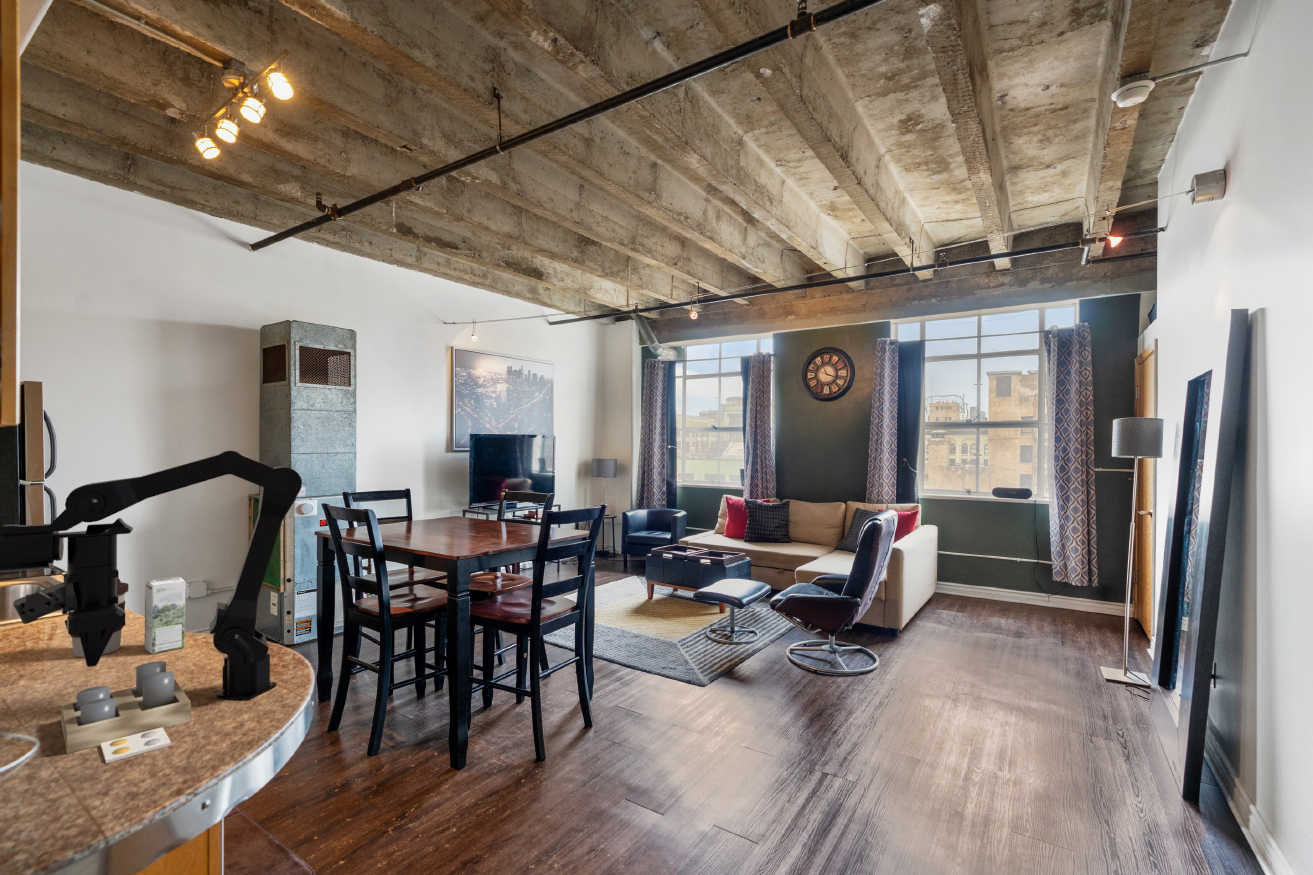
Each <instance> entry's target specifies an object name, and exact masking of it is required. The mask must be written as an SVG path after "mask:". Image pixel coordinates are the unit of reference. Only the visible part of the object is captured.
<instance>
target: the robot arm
mask: <svg viewBox="0 0 1313 875" xmlns="http://www.w3.org/2000/svg"><path fill="white" fill-rule="evenodd" d="M227 475H232V476H234V477H237V478H239V479H242V480H244V481H247V482H249V483H252V484H254V485H257V486H259V487H260V491H259V499H258V500H259V501H258V515H257V517H256V521H255V524H254V527H253V531H252V533H251V536H250V538H249V543H248V546H247V549H246V552H245V555H244V558H243V561H242V564H241V567H240V570H239V573H238V577H237V580H236V583H235V586H234V589H233V591H232V593H231V595H230V597H229V599H228V600H227V602H226V603H224V602H220V601H218V602H216V610H215V615H214V617H213V619H212V620H211V621H210V623H209V634H210V635H212V642H213V646H214V648H215V649H216V650H217V651H218V652H220V653H221V654H224V655H227V656H225V657H224V658H223V665H222V691H220V692H218V693H216V694H215V698H221V699H235V700H250V699H253V698H254V697H257V696H259V695H261V694H263V693H265V692H267V691H268V690H271V689H272V688H275V687H276V686H277V685H278V683H277V682H276V681H271V653H270V652H269V649H270V647H269V644H268V641H267V637H266V636H265V634H264V633H262V632H261V631H259V630H258V629H256V625H257V624H256V623H257V614H258V611H257V610H258V599H259V596H260V592H261V589H262V586H263V583H264V579H265V577H266V573H267V570H268V567H269V565H270V561H271V559H272V558H271V557H272V555H273V552H274V548H275V545H276V542H277V539H278V535H279V533H280V530H281V526H282V523H283V520H284V519H285V518H286V516H287V514H288V513H289V511H290V509H291V508H292V506H293V505H294V503H295V500H296V499H297V498H298V495H299V493H300V492H301V490H302V486H303V480H302V477H301V475H300V474H299V472H298V471H296V470H295V469H293V468H290V467H287V466H282V465H281V466H279V465H278V466H273V467H272V466H269V465H267V464H264V463H261V462H259V461H257V460H254V459H252V458H250V457H247V456H244V455H243V454H241V453H240V452H238V451H235V450H226V451H222V452H220V453H218V454H216V455H213V456H209V457H205V458H201V459H199V460H195V461H191V462H187V463H184V464H181V465H178V466H176V465H175V466H174V467H170V468H166V469H163V470H159V471H156V472H153V473H149V474H145V475H142V476H135V477H134V476H133V477H127V478H121V479H119V478H118V479H114V480H112V479H111V480H107V481H106V480H105V481H98V482H90V483H87V484H84V485H81V486H78V487H77V488H74V489H73V490H72V491H71V492H70V493H69V494H68V495H67V496H66V499H65V504H64V506H65V509H64V510H63V511H62V512H61V513H60V514H59V515H58V516H57V517H55V518H53V519H52V522H51V523H45V524H44V523H42V524H26V525H25V524H5V525H2V526H0V573H9V572H10V573H11V572H23V571H32V570H33V571H34V570H43V569H44V570H45V569H53V568H52V567H53V565H54V562H55V561H56V562H59V561H62V560H63V556H64V549H65V548H64V542H65V541H64V539H65V538H67V555H66V556H67V557H66V558H67V561H66V562H67V563H66V564H67V567H66V568H67V570H66V573H64V574H63V581H62V582H60V583H58V584H54V585H52V586H49V587H46V588H45V587H44V588H43V589H41V590H40V589H38V590H36V591H35V592H32V593H30V594H29V593H28V594H26V595H24V596H23V597H22V596H21V597H19V598H18V599H16V600H14V601H13V604H12V605H13V607H14V609H15V610H16V613H17V614H18V617H19V618H20V620H21V622H22V624H23V625H26V624H28V625H29V624H31V623H33V622H36V621H37V620H39V618H42V617H44V616H47V615H49V614H52V613H54V612H57V611H59V610H61V614H62V615H67V617H66V620H64V624H65V628H66V630H67V631H66V632H67V635H70V634H76V635H78V636H79V637H80V641H81V645H82V649H83V653H84V657H83V658H84V660H85V664H86V667H87V668H92V667H96V666H97V665H98V664H99V661H100V660H101V658H102V656H103V655H102V654H103V652H104V650H105V648H106V646H107V644H108V642H109V640H110V638H111V637H112V635H113V633H114V631H115V629H116V628H117V627H122V626H123V627H125V626H126V612H124V610H123V609H122V608H120V607H119V606H117V605H115V604H118V596H117V577H118V578H119V574H120V572H119V569H118V535H127V534H128V535H129V534H131V532H132V531H133V529H134V527H132V526H131V525H129V524H127V523H126V522H125V521H124V520H123V519H122V518H121V517H118V518H116V520H115V521H113V522H112V523H111V522H110V523H97V524H95V522H99V521H103V520H104V519H106V518H108V517H110V516H113V515H115V514H117V513H120V512H122V511H124V510H127V509H128V508H130V507H133V506H134V505H136V504H138V503H140V502H143V501H145V500H147V499H150V498H153V497H156V496H161V495H163V494H166V493H170V492H174V491H176V490H180V489H184V488H188V487H189V486H193V485H196V484H200V483H203V482H206V481H209V480H213V479H216V478H220V477H223V476H227ZM83 522H84V523H92V524H88V525H87V527H86V529H85V530H81V531H70V532H69V531H68V530H70V529H73V528H74V527H75V526H78V525H80V524H81V523H83ZM68 611H70V612H72V613H71V614H70V615H69V616H68ZM270 688H271V689H270ZM266 690H267V691H266ZM260 693H261V694H260Z"/></svg>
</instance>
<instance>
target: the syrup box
mask: <svg viewBox="0 0 1313 875" xmlns="http://www.w3.org/2000/svg"><path fill="white" fill-rule="evenodd" d="M144 582H145V583H144V584H145V586H144V589H145V590H144V649H145V651H146V652H148V653H150V654H152V655H153V654H160V653H164V652H169V651H170V652H171V651H174V650H178V649H183V648H185V646H186V645H185V644H186V642H185V641H186V587H187V586H186V583H187V582H186V580H184V578H182V577H180V576H174V577H165V578H159V579H152V580H146V581H144ZM181 634H185V635H181Z"/></svg>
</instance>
